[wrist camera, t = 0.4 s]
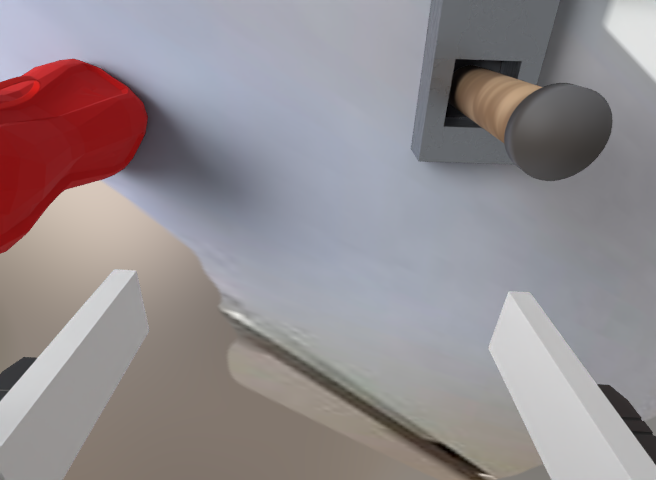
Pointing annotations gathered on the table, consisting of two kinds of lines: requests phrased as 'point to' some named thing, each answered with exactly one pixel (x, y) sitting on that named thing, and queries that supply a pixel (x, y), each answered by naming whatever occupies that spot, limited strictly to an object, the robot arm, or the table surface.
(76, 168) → the water bottle
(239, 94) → the table surface
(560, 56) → the table surface
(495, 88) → the pin
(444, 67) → the block
